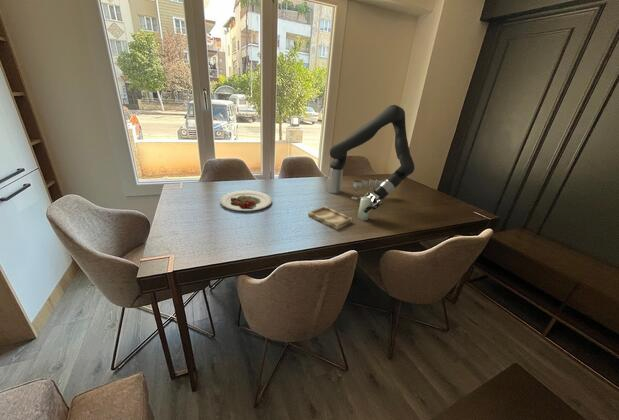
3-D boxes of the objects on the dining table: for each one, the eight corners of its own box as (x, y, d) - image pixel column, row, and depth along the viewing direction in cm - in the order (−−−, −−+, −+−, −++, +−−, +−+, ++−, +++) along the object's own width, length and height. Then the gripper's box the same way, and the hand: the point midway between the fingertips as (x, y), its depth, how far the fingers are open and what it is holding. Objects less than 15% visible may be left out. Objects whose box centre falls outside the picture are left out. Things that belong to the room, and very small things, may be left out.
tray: (308, 216, 142) (308, 212, 141) (323, 209, 151) (324, 205, 150) (336, 230, 130) (336, 225, 129) (351, 222, 140) (352, 218, 139)
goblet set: (383, 195, 184) (387, 177, 178) (387, 198, 179) (392, 180, 173) (349, 196, 175) (352, 178, 169) (352, 200, 170) (356, 181, 164)
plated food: (254, 190, 171) (253, 185, 170) (281, 205, 153) (281, 200, 151) (211, 199, 152) (210, 194, 150) (237, 218, 133) (236, 212, 131)
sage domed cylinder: (355, 217, 146) (359, 198, 141) (361, 214, 150) (364, 195, 145) (364, 221, 142) (368, 201, 137) (369, 218, 146) (373, 199, 141)
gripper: (374, 180, 146) (352, 200, 147) (388, 189, 134) (364, 211, 135) (380, 189, 150) (359, 208, 151) (394, 198, 137) (371, 219, 139)
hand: (361, 209), depth 143 cm, fingers closed on sage domed cylinder, 6 cm apart
